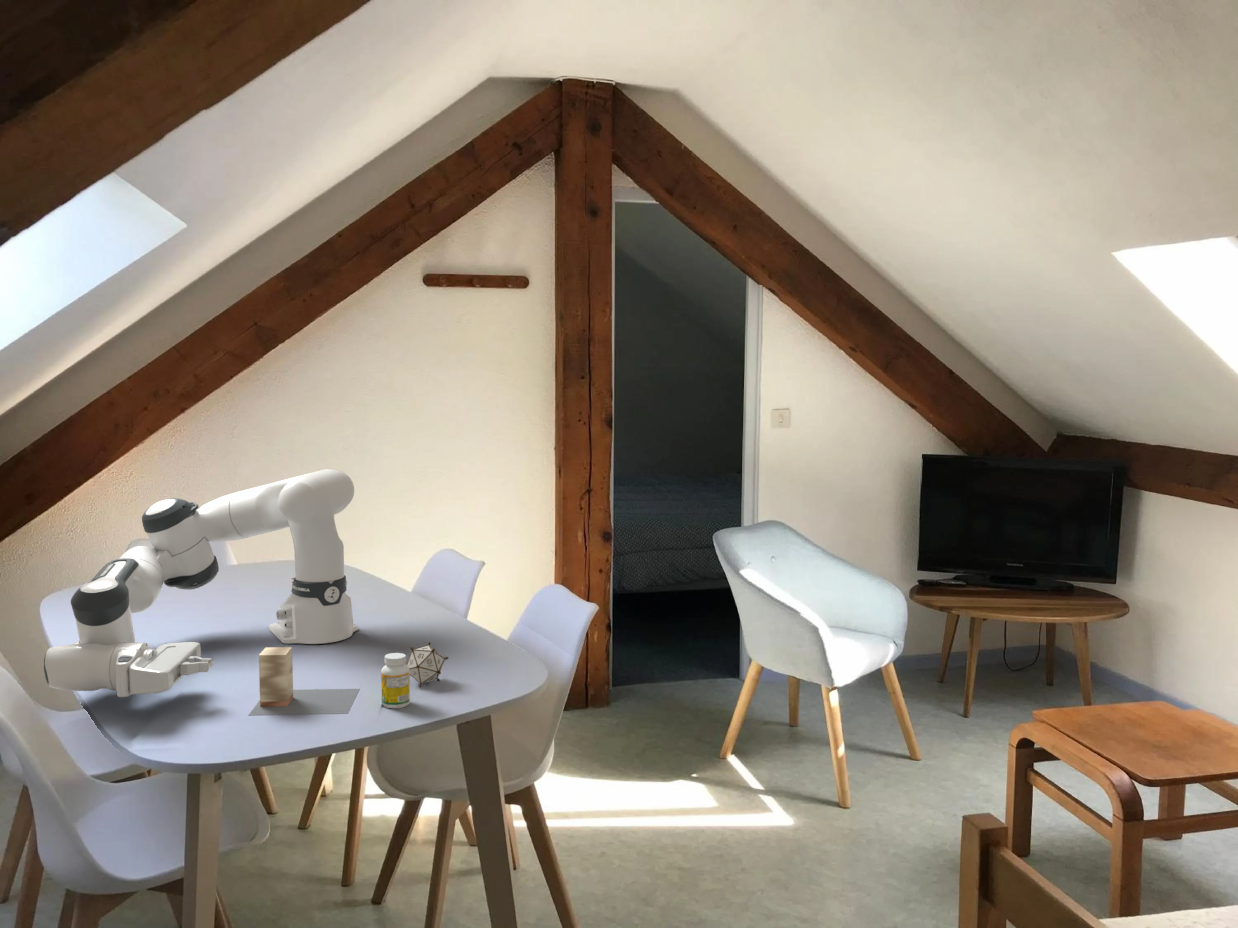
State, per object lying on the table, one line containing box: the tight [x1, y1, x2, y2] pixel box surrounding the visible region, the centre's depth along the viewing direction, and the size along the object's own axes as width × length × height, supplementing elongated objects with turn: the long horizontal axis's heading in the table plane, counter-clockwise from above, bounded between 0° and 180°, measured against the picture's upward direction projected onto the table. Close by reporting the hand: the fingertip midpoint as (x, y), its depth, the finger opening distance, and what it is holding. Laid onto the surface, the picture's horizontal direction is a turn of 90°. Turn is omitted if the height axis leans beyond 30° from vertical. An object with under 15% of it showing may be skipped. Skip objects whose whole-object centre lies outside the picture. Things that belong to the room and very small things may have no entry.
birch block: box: [258, 646, 294, 707], centre depth 199 cm, size 5×5×10 cm
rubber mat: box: [248, 688, 361, 717], centre depth 200 cm, size 18×14×1 cm
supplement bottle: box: [380, 652, 411, 709], centre depth 200 cm, size 5×5×10 cm
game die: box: [406, 641, 449, 689], centre depth 213 cm, size 9×8×10 cm
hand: (210, 665), depth 198 cm, fingers closed
